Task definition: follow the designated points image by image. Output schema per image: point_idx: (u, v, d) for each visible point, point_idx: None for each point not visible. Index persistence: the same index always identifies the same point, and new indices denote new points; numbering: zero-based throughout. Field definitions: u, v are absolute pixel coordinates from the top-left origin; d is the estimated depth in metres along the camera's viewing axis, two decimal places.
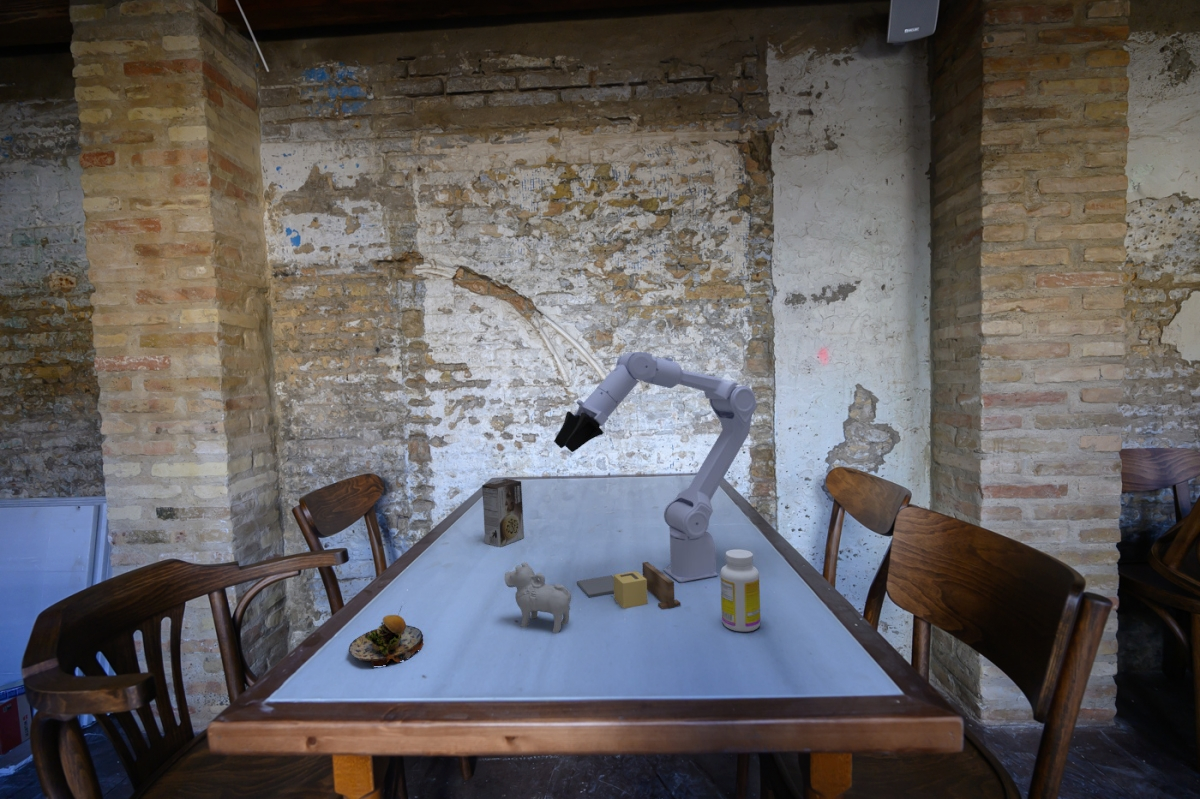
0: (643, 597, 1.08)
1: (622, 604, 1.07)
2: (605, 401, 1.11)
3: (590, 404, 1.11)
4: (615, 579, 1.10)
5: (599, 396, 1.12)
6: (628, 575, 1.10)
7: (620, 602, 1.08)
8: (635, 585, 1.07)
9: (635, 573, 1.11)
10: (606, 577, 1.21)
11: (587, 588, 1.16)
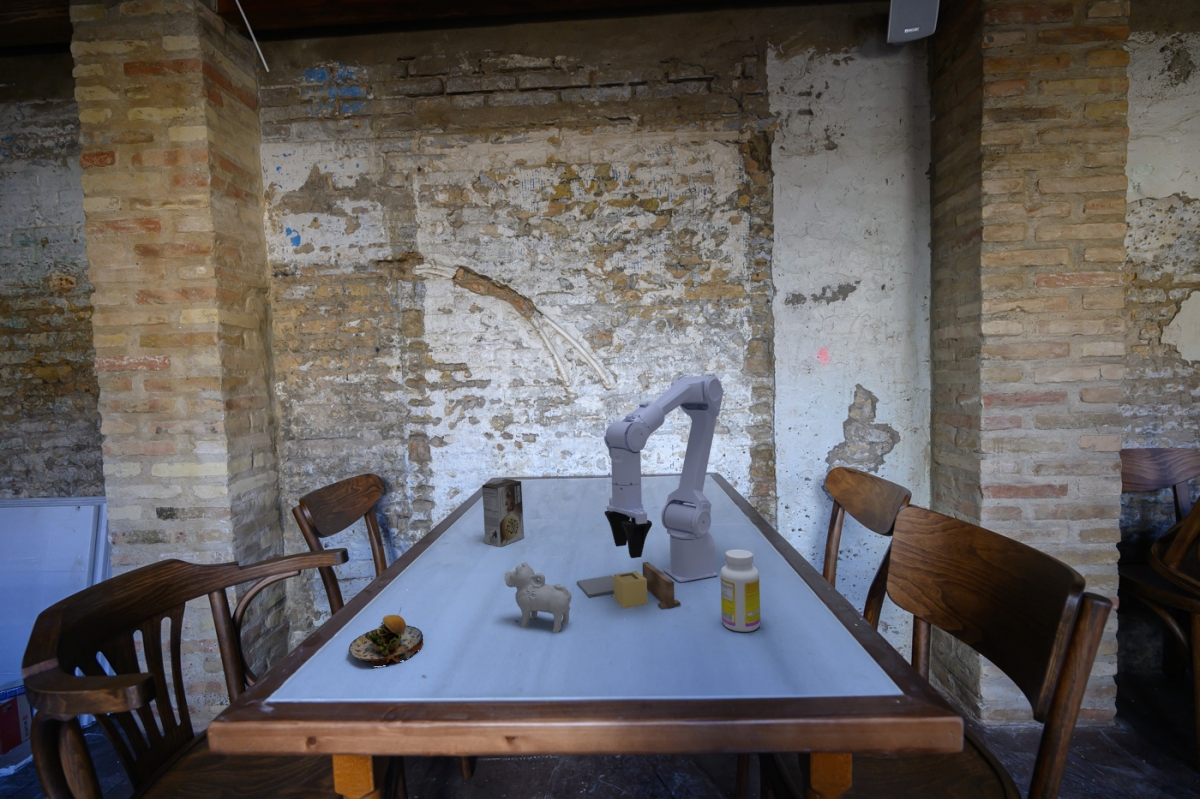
0: (643, 597, 1.08)
1: (622, 604, 1.07)
2: (630, 493, 1.06)
3: (620, 505, 1.06)
4: (615, 579, 1.10)
5: (621, 493, 1.06)
6: (628, 575, 1.10)
7: (620, 602, 1.08)
8: (635, 585, 1.07)
9: (635, 573, 1.11)
10: (606, 577, 1.21)
11: (587, 588, 1.16)
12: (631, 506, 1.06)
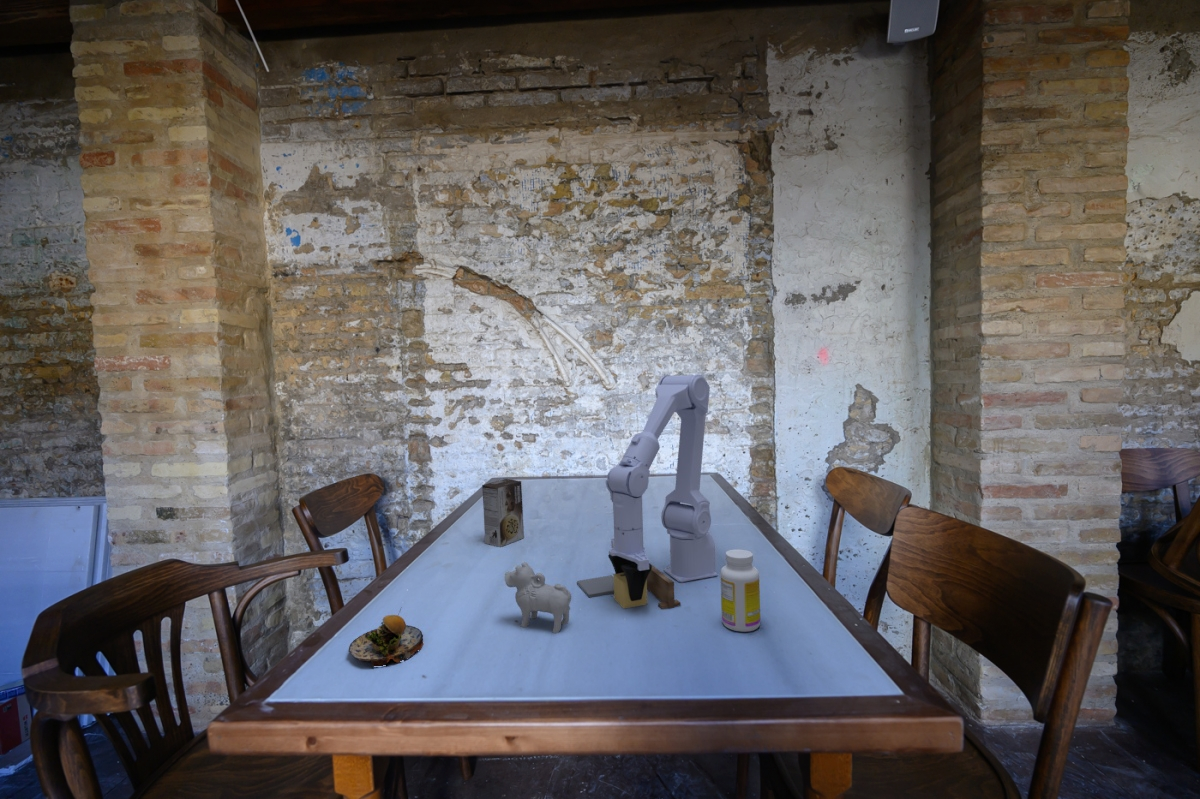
0: (643, 596, 1.08)
1: (622, 603, 1.07)
2: (632, 537, 1.06)
3: (622, 550, 1.07)
4: (615, 578, 1.10)
5: (623, 537, 1.07)
6: None
7: (620, 601, 1.08)
8: None
9: None
10: (606, 577, 1.21)
11: (587, 588, 1.16)
12: (633, 551, 1.07)
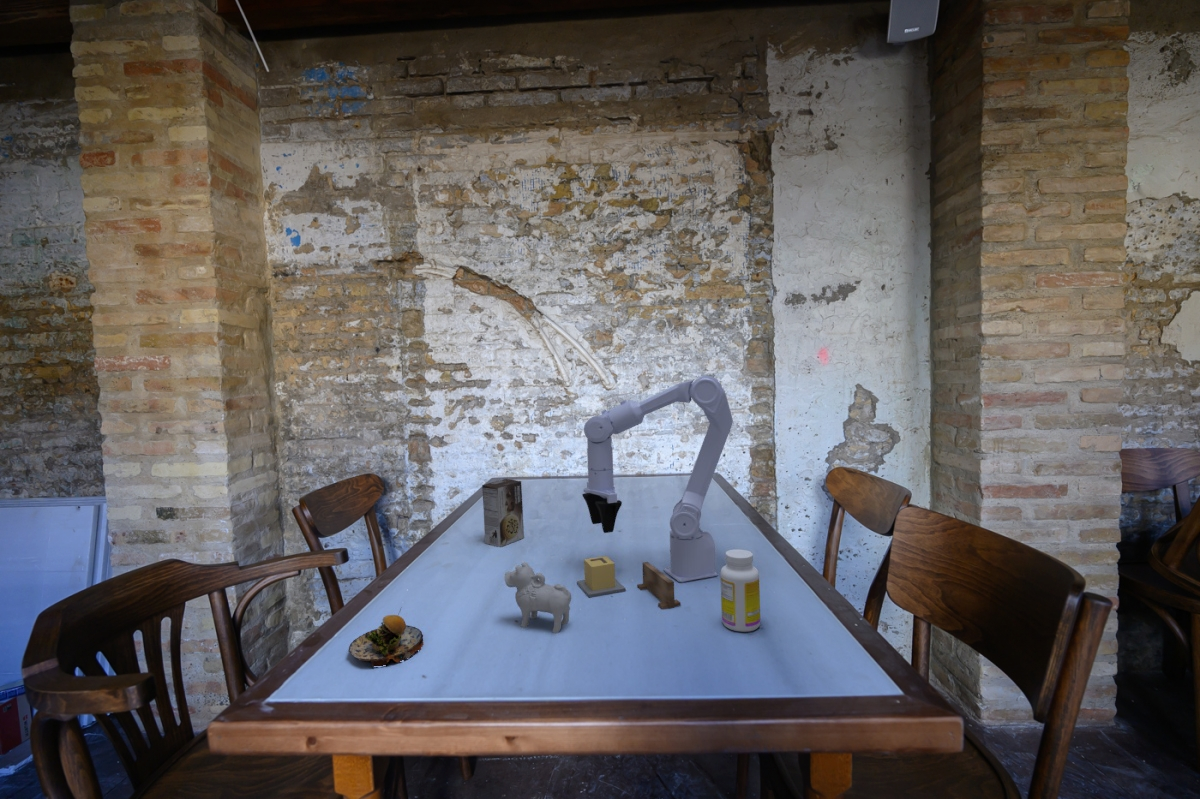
0: (611, 580, 1.15)
1: (591, 586, 1.15)
2: (603, 477, 1.23)
3: (595, 487, 1.24)
4: (585, 563, 1.18)
5: (595, 477, 1.23)
6: (598, 559, 1.18)
7: (589, 584, 1.16)
8: (603, 569, 1.15)
9: (604, 558, 1.19)
10: None
11: (587, 588, 1.16)
12: (604, 488, 1.23)
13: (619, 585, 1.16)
